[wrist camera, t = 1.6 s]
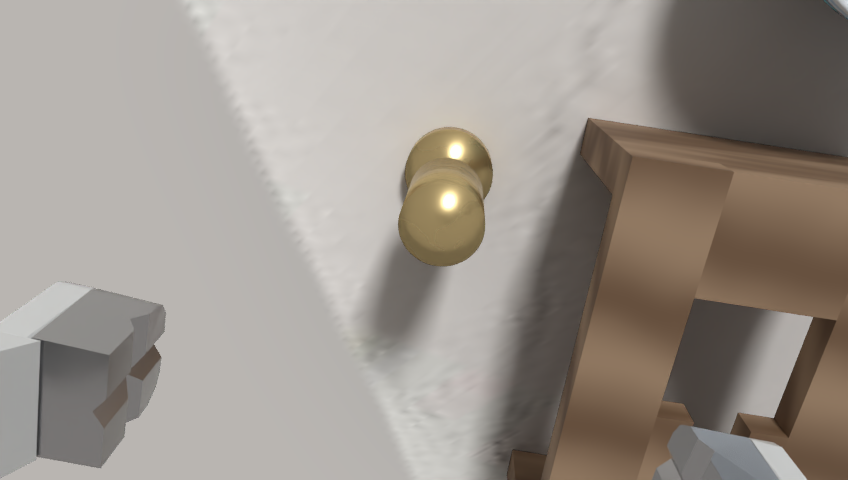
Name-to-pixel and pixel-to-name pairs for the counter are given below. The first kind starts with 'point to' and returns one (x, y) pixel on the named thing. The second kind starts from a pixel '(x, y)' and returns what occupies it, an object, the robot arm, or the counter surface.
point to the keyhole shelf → (702, 297)
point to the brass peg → (445, 196)
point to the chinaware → (839, 6)
